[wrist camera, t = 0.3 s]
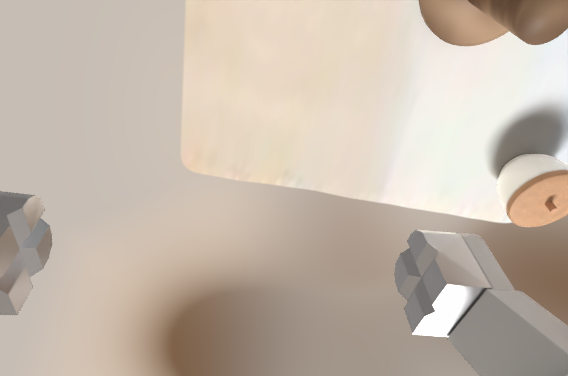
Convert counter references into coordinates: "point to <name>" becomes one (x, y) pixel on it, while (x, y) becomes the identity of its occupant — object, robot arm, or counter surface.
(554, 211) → the lidded jar
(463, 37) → the lid
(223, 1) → the counter surface
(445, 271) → the robot arm
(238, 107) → the counter surface
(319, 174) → the counter surface
